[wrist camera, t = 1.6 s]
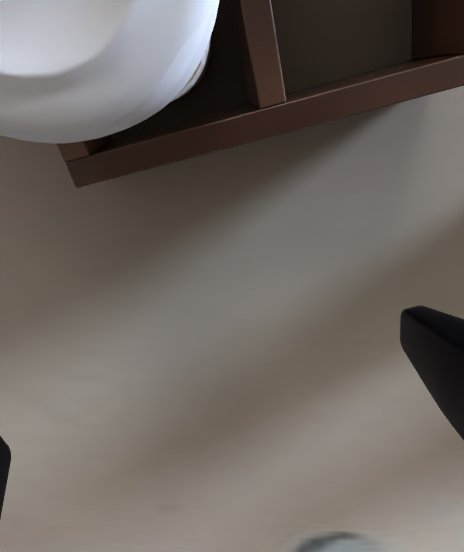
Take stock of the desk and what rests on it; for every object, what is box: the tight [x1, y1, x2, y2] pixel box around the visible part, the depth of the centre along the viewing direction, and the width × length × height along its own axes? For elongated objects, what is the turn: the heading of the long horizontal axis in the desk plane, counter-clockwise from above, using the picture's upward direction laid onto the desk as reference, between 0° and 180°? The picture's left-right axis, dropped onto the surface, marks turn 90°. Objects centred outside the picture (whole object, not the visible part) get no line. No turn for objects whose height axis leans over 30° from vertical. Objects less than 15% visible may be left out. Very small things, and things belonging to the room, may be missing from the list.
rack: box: [57, 0, 464, 188], centre depth 13 cm, size 8×16×4 cm, turn 104°
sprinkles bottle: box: [0, 0, 219, 143], centre depth 9 cm, size 5×5×13 cm
